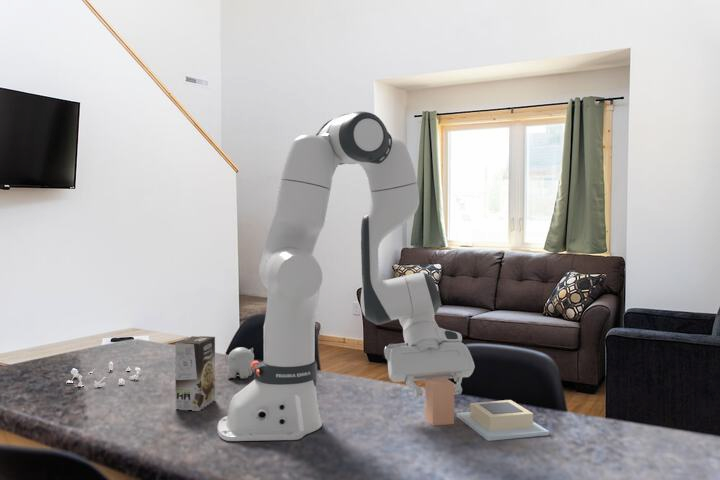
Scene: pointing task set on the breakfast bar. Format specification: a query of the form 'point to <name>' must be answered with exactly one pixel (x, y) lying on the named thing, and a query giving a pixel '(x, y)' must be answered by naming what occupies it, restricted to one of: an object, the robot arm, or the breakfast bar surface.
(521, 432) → the base
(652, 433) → the breakfast bar surface
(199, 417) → the breakfast bar surface
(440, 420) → the pillar block
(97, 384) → the game piece set
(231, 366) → the chubby cartoon animal
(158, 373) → the breakfast bar surface
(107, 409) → the breakfast bar surface
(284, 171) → the robot arm
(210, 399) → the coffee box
